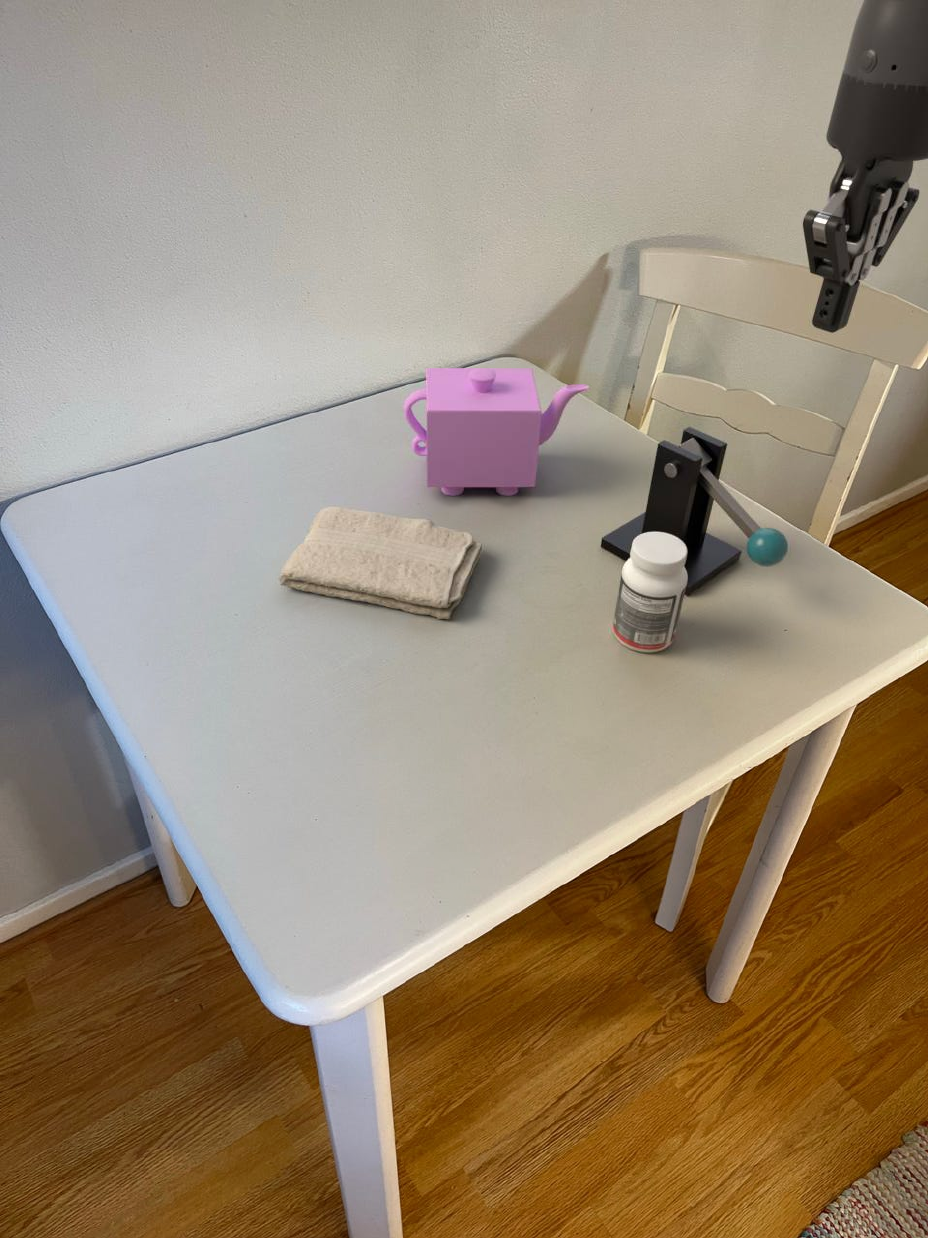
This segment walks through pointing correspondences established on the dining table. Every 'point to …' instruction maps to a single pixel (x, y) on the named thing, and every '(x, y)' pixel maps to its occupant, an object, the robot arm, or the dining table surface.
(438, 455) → the teapot
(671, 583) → the pill bottle
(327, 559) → the washcloth
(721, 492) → the lever with teal knob
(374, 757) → the dining table surface
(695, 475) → the bracket
